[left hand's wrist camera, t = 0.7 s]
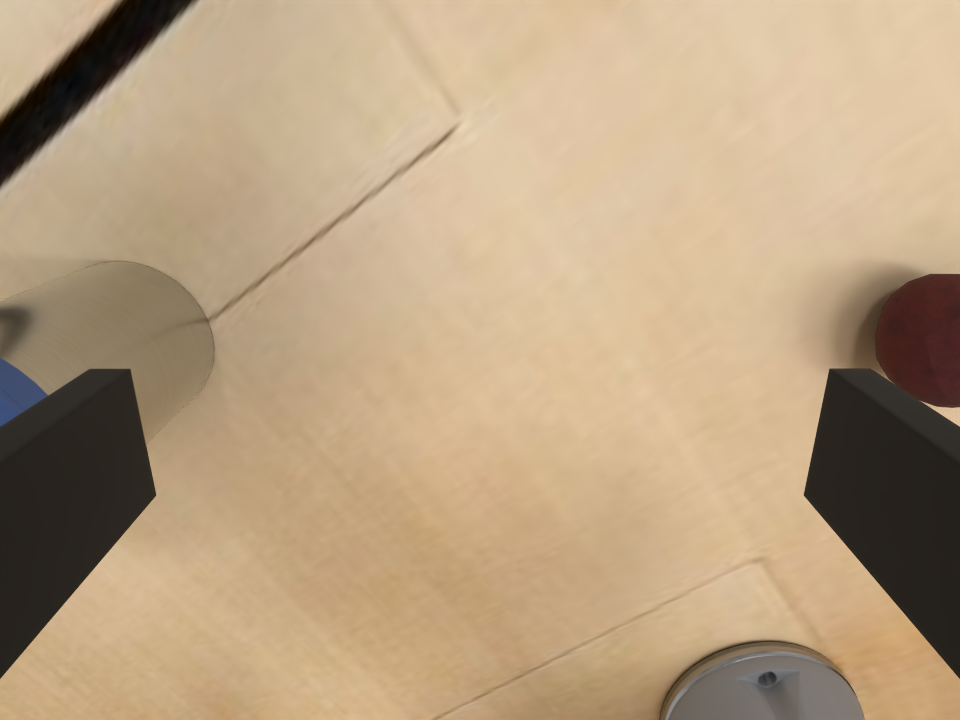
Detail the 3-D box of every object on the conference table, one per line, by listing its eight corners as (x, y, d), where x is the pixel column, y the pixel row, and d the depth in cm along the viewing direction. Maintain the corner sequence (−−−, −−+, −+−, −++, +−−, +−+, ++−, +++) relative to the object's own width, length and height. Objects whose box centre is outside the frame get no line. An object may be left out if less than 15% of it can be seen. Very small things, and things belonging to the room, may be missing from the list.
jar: (238, 309, 41) (88, 430, 25) (183, 437, 44) (19, 615, 28) (78, 230, 39) (-190, 308, 23) (32, 369, 42) (-230, 519, 27)
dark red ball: (877, 397, 43) (949, 449, 36) (830, 302, 40) (898, 338, 34) (987, 338, 41) (1084, 381, 35) (945, 236, 39) (1040, 261, 32)
